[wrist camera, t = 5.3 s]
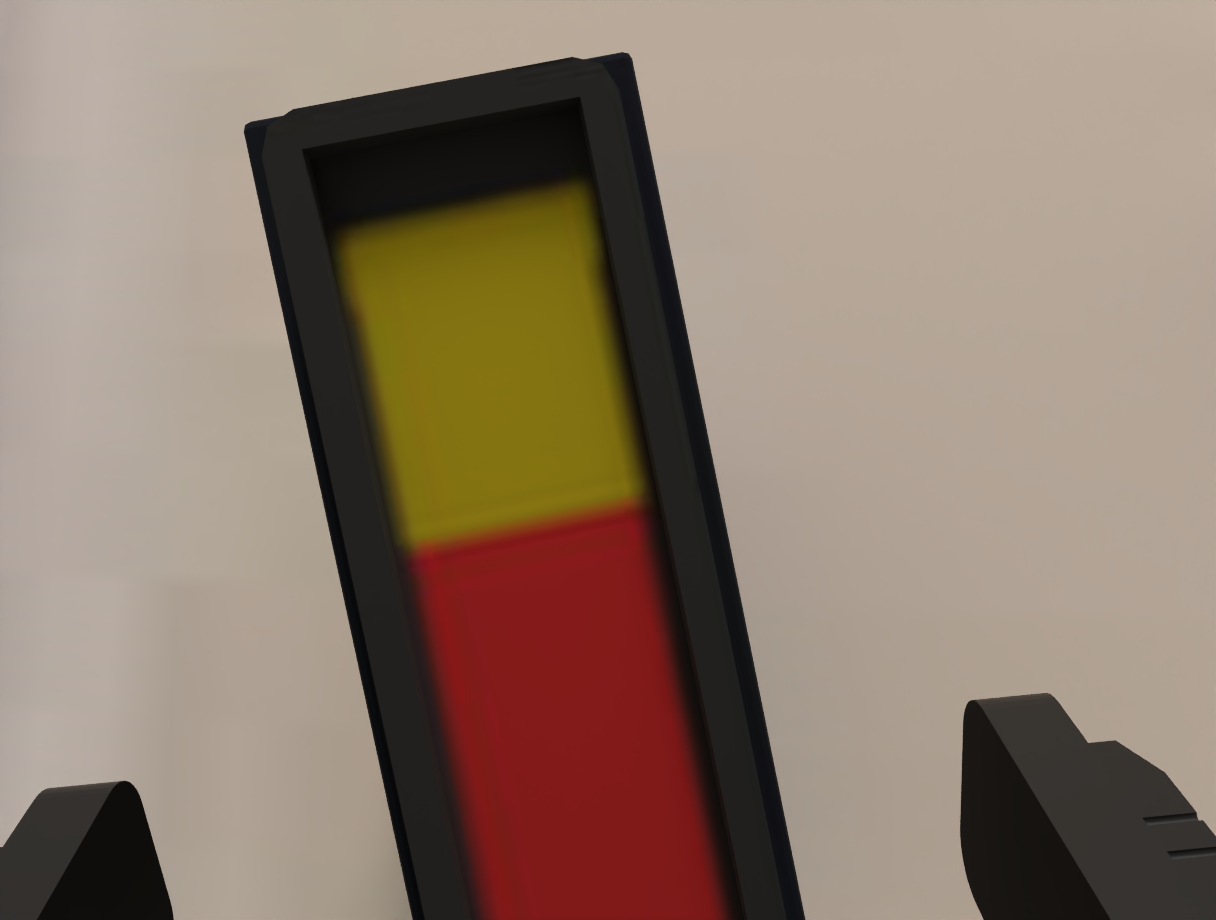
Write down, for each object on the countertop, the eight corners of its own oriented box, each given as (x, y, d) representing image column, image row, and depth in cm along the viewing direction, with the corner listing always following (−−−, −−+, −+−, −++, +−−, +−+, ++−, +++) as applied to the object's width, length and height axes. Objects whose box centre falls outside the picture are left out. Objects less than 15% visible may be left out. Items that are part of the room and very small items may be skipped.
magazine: (579, 261, 25) (641, 3, 10) (699, 852, 25) (934, 1462, 10) (407, 294, 25) (204, 84, 10) (532, 891, 25) (523, 1570, 10)
